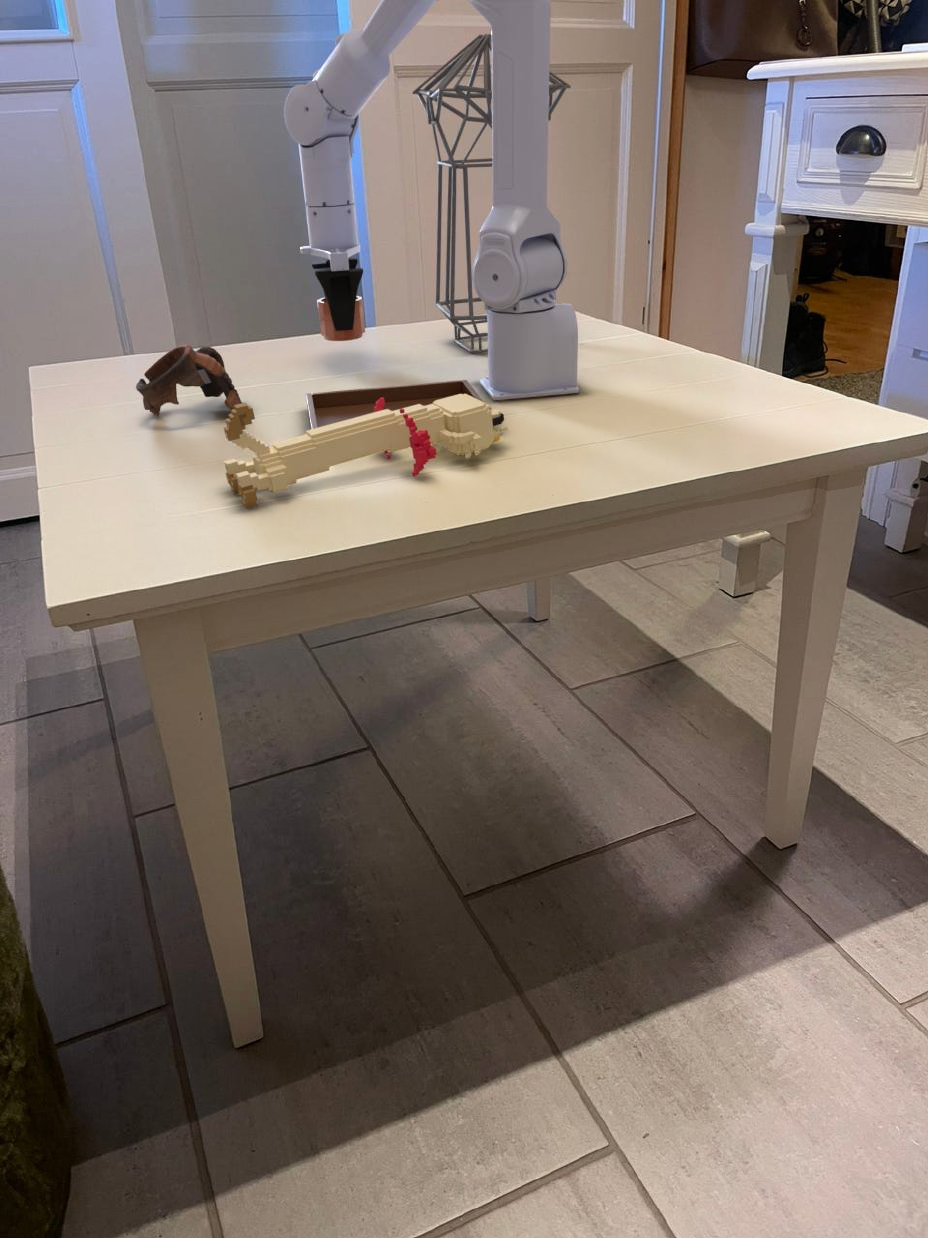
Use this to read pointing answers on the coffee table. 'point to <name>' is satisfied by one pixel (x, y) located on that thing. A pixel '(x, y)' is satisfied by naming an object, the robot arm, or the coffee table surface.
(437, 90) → the geometric lantern
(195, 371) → the broken pottery shard
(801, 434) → the coffee table surface
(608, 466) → the coffee table surface
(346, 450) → the cat figure
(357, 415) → the tray
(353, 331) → the cup
